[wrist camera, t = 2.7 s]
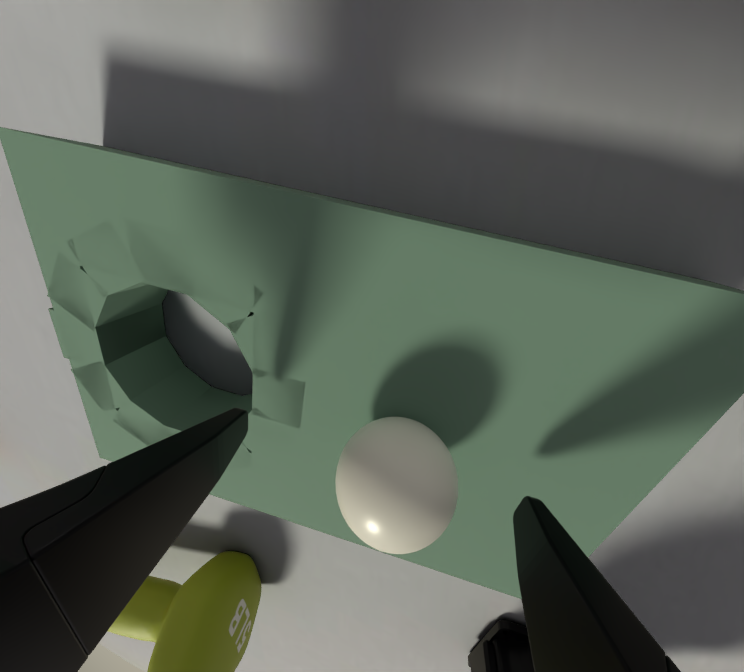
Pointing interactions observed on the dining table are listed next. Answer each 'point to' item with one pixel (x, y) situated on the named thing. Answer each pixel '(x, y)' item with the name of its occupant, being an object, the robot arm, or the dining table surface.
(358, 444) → the ball
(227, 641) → the dumbbell
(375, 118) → the dining table surface
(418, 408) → the green slab with hollow
